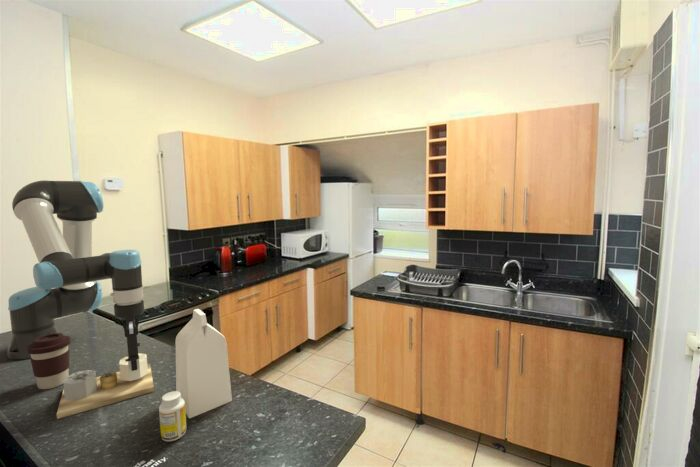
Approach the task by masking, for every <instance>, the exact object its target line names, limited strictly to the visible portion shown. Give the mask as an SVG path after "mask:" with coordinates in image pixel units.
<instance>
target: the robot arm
mask: <svg viewBox="0 0 700 467" xmlns="http://www.w3.org/2000/svg"><path fill="white" fill-rule="evenodd" d="M11 204H12V205H11V206H12V211H13V214H14V216H15V217H16V218H17V219H18V220H20V221H21V222H22V224H23V227H24V229H25V232H26V234H27V236H28V239H29V242H30V243H31V246H32V248H33V251H34V254H35V256H36V258H37V261H38V263H35V264H34V265H33V268H32V273H33V274H32V276H33V279H34V284H35V286H33V287H29V288H26V289H22V290H19V291H17V292H15V293H13V294H12V295H10V296H9V298H8V308H7V309H8V311H9V317H10V318H9V319H10V328H11V338H10V341H9V345H8V347H7V350H6V352H7V353H6V354H7V358H8V359H9V360H25V359H26V360H27V359H30V358H31V354H29V353H27V346H28V345H29V344H31V343H33V341H34V339H36V338H38V337H40V336H43V335H47V334H52V333H60V332H59V330H58V329H57V328H56V324H55V320H56V319H60V318H65V317H68V316H69V317H70V316H73V315H77V314H82V313H83V314H84V313H88V312H91V311H94V310H97V308H98V307H100V305H101V303H102V298H103V292H102V290H103V289H102V286H101V283H100V282H99V281H102V280H109V279H111V284H112V292H110V296H111V297H113V303H114V305H113V311H114V316H115V317H116V318H119V319H123V318H124V319H123V320H122V328H123V329H124V330H123V332H124V338H126V344H127V347H126V348H127V356H128V359H126V361H128V365H129V377H130V381H132V380H136V379H140V365H139V356H138V353H139V347H140V346H141V344H140V342H138V335H139V317H137V316H139V315H140V316H141V315H142V314H143V313H144V312H145V302H144V300H143V299H144V296H145V295H144V285H143V275H142V274H143V273H142V259H141V254H140V251H139V250H137V249H122V250H121V249H120V250H116V251H115V250H114V251H112V252H105V253H102V254H100V255H95V256H94V255H92V248H93V246H92V245H93V242H92V240H93V239H92V238H93V237H92V236H93V235H92V234H93V232H92V231H93V229H92V228H93V222H94V221H95V220H96V219H98V214H101V213H102V212H103V211H104V208H105V207H104V200H103V195H102V193H101V191H100V188H99V186H98V185H97V184H96V183H94V182H92V181H83V180H37V181H32V182H30V183H27V185H26V184H25V185H24V186H23V187H21V189H19V190H18V191H17V192H16V194H15V196H14V197H13V199H12V203H11ZM54 215H56V218H57V219H59V220H60V221H61V222H62V231H61V229H60V227H59V224H58V222H57V221H56V218H55V216H54Z"/></svg>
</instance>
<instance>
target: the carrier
mask: <svg viewBox="0 0 700 467" xmlns="http://www.w3.org/2000/svg"><path fill="white" fill-rule="evenodd" d="M147 366H148V373H147V374H146V375H144V376H143V377H141V378H140V379H136V380H132V381H125V380H121V377H120V371H110V372H106V373H104V374H102V375H100V376H96V381H97V391H96V392H95V393H93V394H92V395H90V396H88V397H86V398H83V399H79V400H75V401H70V400H65V395H64V389H63V390H62V394H61V398H60V401H59V404H58V407H57V412H56V419H57V420H58V419H62V418H67V417H69V416H73V415H76V414H80V413H83V412H86V411H90V410H93V409H97V408H100V407H104V406H107V405H110V404H111V405H112V404H115V403H119V402H123V401H125V400H128V399H132V398H136V397H139V396H143V395H146V394H149V393H152V392H155V385H154V379H153V374H152V367H151V364H150V363H149V364H148V363H147ZM83 378H84V376H82V375H80V376H78V377H77V378H76V380H79V379H83Z"/></svg>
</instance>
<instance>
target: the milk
mask: <svg viewBox="0 0 700 467" xmlns="http://www.w3.org/2000/svg"><path fill="white" fill-rule="evenodd" d="M207 320H208V319H207V316H206V313H204V311H203V310H202V309H199V308H195V309H193V311H192V318H191V319H190V320H189V321H188V322H187V323H186V324H185V325H184V326H183V328H182V329H181V330H180V331H179V332H178V333H177V335H176V337H175V384H176V386H175V387H176V388H175V391H178V392H180V395H181V398H182V399H184V401H185V414H186V417H187V418H188V419H192V418H194V417H196V416H199V415H201V414H204V413H206V412H209V411H211V410H213V409H216V408H218V407H220V406H223V405H226V404H228V403H230V402H233V396H232V385H231V375H230V366H229V365H230V364H229V355H228V354H229V353H228V343H227V340H226V337H225V335H223V334H222V333H221V332H220V331H219V330H217V329H216V328H215V327H214V326H212V325H211V324H210V323H208V321H207Z"/></svg>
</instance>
